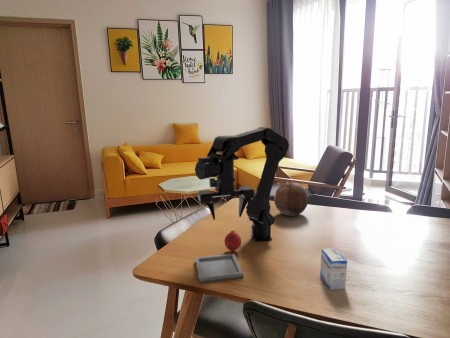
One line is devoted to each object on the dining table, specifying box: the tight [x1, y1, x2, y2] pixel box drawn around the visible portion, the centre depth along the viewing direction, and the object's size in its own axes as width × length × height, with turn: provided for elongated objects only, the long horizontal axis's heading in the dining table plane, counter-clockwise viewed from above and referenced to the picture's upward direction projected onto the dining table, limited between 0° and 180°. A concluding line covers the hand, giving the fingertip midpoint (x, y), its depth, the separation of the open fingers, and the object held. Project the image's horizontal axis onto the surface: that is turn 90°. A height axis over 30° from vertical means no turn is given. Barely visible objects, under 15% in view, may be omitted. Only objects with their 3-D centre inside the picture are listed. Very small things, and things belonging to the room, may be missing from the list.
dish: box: [195, 252, 244, 284], centre depth 101 cm, size 13×13×2 cm
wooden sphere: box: [273, 182, 309, 217], centre depth 146 cm, size 15×15×15 cm
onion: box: [223, 229, 242, 253], centre depth 112 cm, size 6×6×8 cm
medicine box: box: [319, 247, 348, 291], centre depth 92 cm, size 8×4×9 cm, turn 5°
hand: (227, 218), depth 111 cm, fingers open, 9 cm apart
